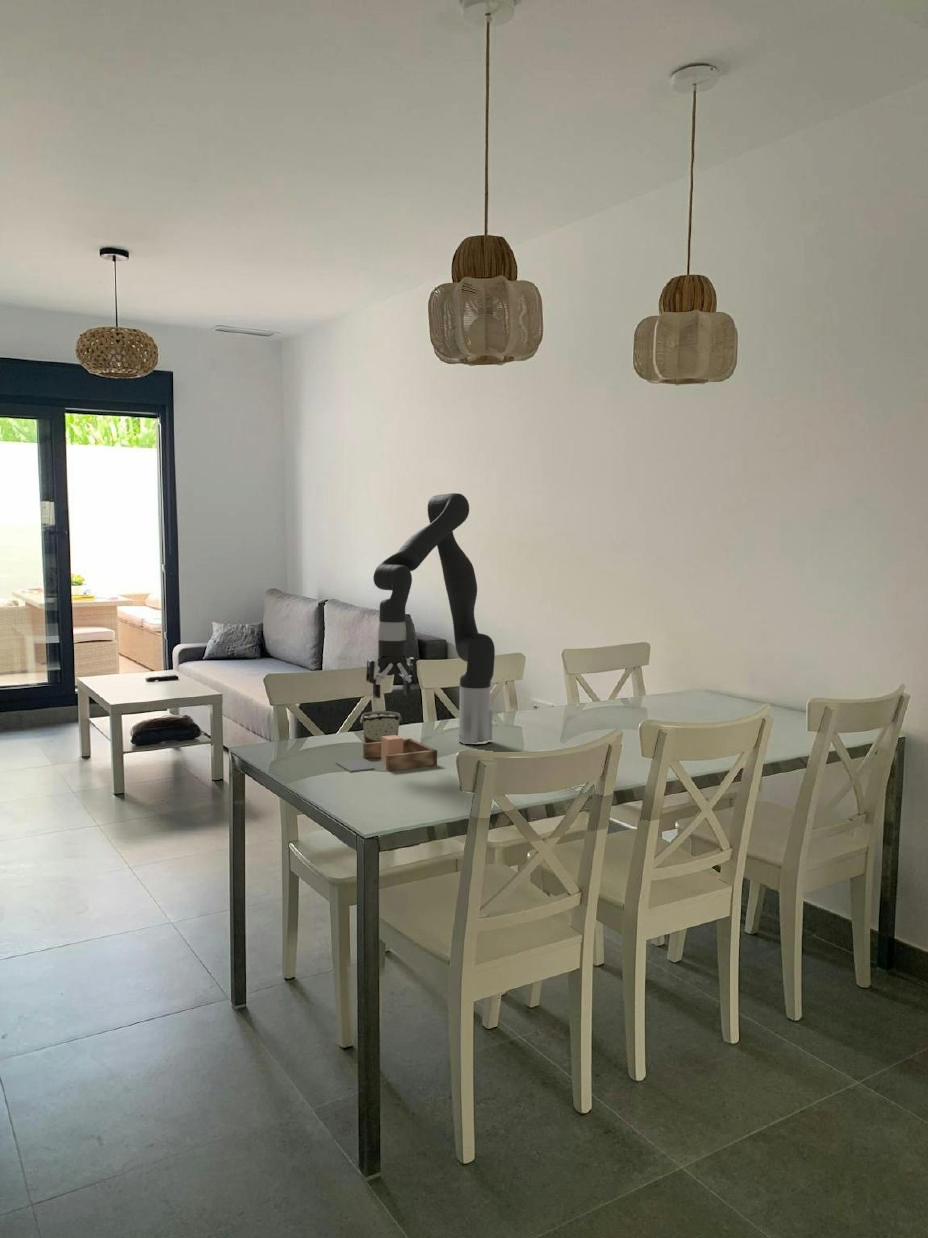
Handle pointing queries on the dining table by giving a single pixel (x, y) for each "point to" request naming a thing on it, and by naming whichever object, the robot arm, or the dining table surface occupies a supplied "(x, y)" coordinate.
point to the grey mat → (355, 765)
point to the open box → (404, 755)
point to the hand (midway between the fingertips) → (391, 696)
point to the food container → (379, 725)
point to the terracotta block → (391, 746)
